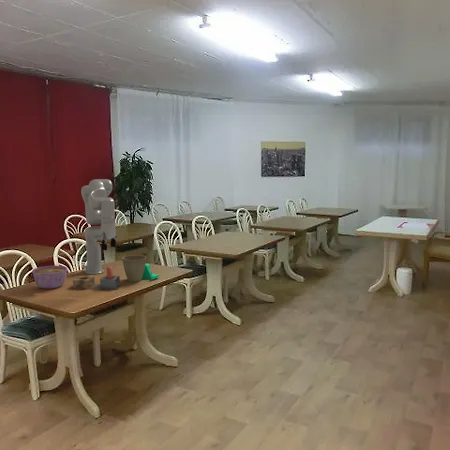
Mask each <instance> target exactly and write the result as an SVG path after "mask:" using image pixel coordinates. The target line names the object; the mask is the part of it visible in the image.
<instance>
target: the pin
mask: <svg viewBox="0 0 450 450" xmlns="http://www.w3.org/2000/svg"><path fill="white" fill-rule="evenodd" d="M113 273H114V272H113V266H107V267H106V275H107V278H108V279H113V276H114V274H113Z"/></svg>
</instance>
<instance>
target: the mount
mask: <svg viewBox="0 0 450 450" xmlns="http://www.w3.org/2000/svg"><path fill="white" fill-rule="evenodd" d="M95 284H96V282H95V276H83V275H82V276H80V275H79V276H77V277H75V278H74V279H73V280H72V288H82V289H81V290H89V289H90V288H91V287H92V286H94V285H95Z"/></svg>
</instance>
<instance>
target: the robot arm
mask: <svg viewBox="0 0 450 450" xmlns="http://www.w3.org/2000/svg"><path fill="white" fill-rule="evenodd" d="M112 191H113V183H112V181H111V180H110V179H107V178H105V179H104V178H102V179H101V178H98V179H96V178H95V179H92V180H90V181H89V183H88V185H83V186H82V187H81V191H80V193H81V197H82V200H83V202H84V207H85V210H84V211H85V222H86V223H87V225H93V226H88V227H86V228H85V229H84V231H83V232H84V238H85V244H86V245H85V247H86V249H85V250H86V265H85V264H83V265H82V269H84V270H85V271H84V274H86V275H98V274H102V273H104V272H105V270H104V269H103V268H102V251H108V244H107V242H108V240H110V247H111V248H116V246H117V244H116V243H117V237H118V236H117V235H118V232H117V230H116V219H115V217H116V216H115V215H116V214H115V211H116V210H115V206H116V205H115V204H116V203H115V200H114V199H113V198H112V197H110V196H109V195H110V194H111V193H112ZM97 225H99V226H97ZM98 241H100V243H101V245H100V243H99V242H98Z"/></svg>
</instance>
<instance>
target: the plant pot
mask: <svg viewBox="0 0 450 450" xmlns="http://www.w3.org/2000/svg"><path fill="white" fill-rule="evenodd" d="M146 261H147V256H145V255H142V254H131V255H125V256H123V257H122V266H123V269H124V273H125V276H126V278H127V281H128V282H130V283H131V282H133V283H137V282H141V281H142V280H143V279H142V276H143V273H144V269H145V264H147V263H146Z"/></svg>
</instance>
